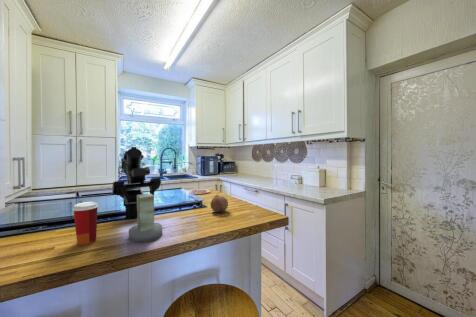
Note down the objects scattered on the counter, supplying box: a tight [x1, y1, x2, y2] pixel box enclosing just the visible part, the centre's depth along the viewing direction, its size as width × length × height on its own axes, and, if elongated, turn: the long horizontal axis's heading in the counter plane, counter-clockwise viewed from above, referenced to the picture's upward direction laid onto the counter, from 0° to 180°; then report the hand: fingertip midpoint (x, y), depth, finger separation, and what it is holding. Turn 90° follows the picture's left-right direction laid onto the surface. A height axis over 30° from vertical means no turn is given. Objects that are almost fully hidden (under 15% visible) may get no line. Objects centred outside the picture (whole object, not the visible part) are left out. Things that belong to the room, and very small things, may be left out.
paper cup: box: [71, 201, 99, 246], centre depth 76 cm, size 8×8×14 cm
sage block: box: [136, 192, 155, 231], centre depth 81 cm, size 5×5×13 cm
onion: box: [210, 194, 229, 214], centre depth 112 cm, size 10×9×10 cm
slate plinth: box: [128, 222, 163, 244], centre depth 82 cm, size 12×12×3 cm
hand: (141, 202), depth 86 cm, fingers open, 9 cm apart
